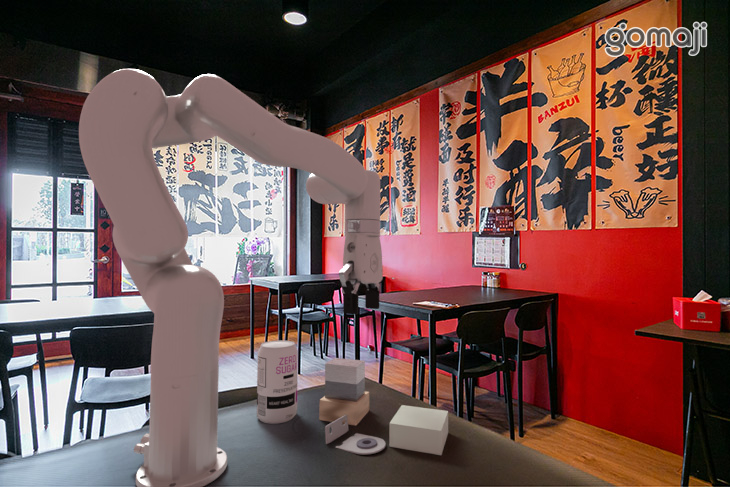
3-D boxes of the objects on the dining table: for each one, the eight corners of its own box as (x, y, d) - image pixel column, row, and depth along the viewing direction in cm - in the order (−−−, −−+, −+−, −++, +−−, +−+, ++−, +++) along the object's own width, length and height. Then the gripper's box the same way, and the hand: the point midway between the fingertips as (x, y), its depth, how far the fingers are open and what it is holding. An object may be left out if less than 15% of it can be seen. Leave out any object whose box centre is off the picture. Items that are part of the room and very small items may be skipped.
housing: (324, 397, 80) (325, 363, 80) (334, 390, 84) (334, 357, 85) (356, 401, 77) (356, 366, 78) (364, 393, 82) (364, 360, 82)
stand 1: (319, 419, 78) (319, 399, 78) (335, 405, 86) (335, 387, 86) (356, 425, 76) (356, 404, 76) (369, 410, 83) (369, 391, 83)
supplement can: (269, 407, 85) (270, 338, 85) (303, 411, 83) (304, 341, 83) (248, 422, 77) (249, 346, 78) (285, 427, 75) (286, 349, 75)
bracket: (372, 462, 63) (372, 440, 63) (324, 446, 68) (324, 426, 68) (392, 446, 68) (392, 426, 68) (346, 432, 74) (346, 413, 74)
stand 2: (389, 446, 67) (389, 423, 67) (401, 425, 76) (401, 405, 76) (441, 455, 64) (441, 430, 64) (448, 432, 73) (448, 411, 73)
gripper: (358, 225, 72) (358, 317, 71) (394, 232, 87) (394, 307, 87) (325, 227, 75) (324, 314, 75) (365, 233, 91) (364, 305, 90)
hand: (362, 310), depth 81 cm, fingers open, 9 cm apart
